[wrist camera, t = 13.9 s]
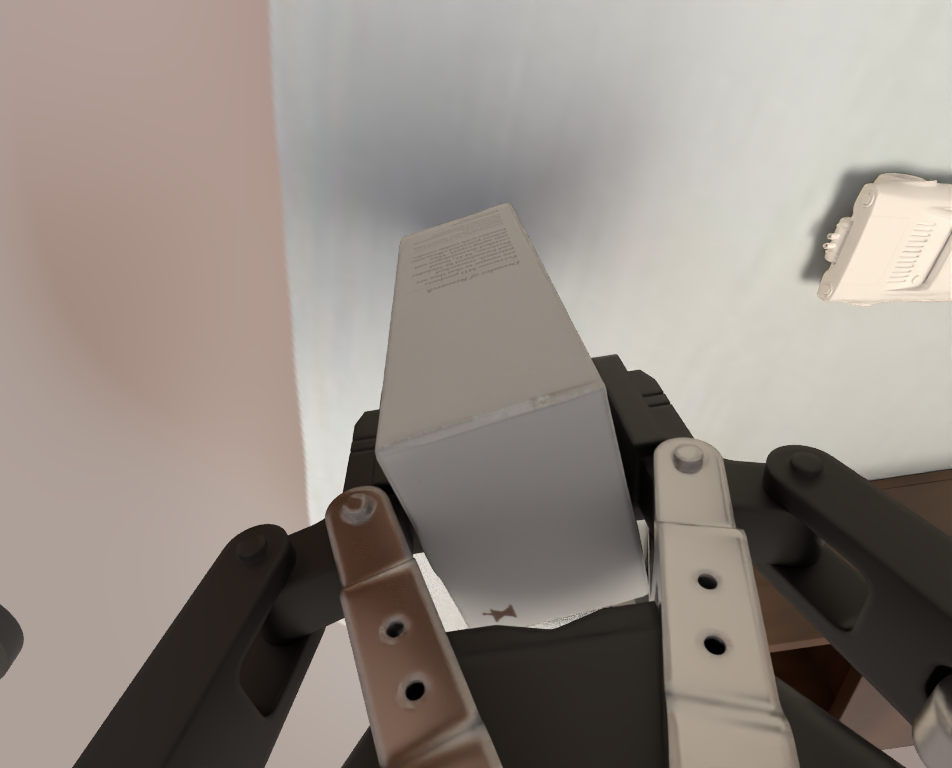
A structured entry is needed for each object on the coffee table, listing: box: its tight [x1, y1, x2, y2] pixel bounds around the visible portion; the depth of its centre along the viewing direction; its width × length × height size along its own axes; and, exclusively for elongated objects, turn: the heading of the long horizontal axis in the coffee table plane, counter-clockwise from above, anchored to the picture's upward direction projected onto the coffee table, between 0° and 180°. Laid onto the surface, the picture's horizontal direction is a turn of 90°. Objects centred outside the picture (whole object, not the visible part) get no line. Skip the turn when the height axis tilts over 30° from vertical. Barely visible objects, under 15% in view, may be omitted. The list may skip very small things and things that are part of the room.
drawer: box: [612, 565, 851, 712], centre depth 34 cm, size 18×12×8 cm
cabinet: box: [825, 469, 952, 750], centre depth 34 cm, size 15×14×10 cm
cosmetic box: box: [375, 203, 649, 629], centre depth 15 cm, size 6×4×12 cm
